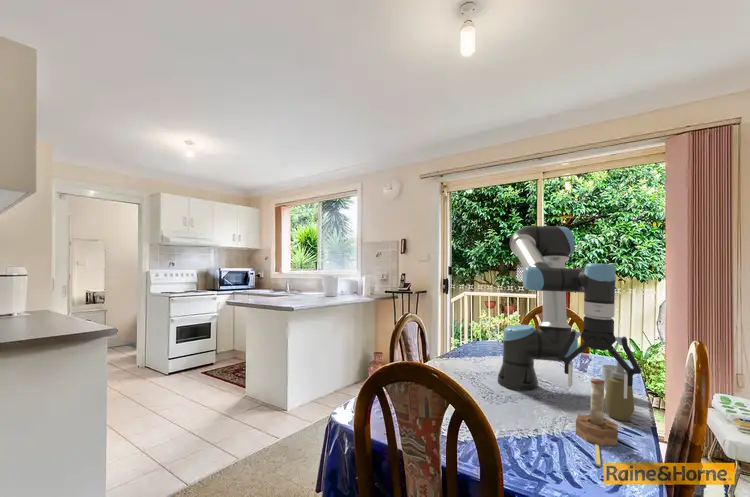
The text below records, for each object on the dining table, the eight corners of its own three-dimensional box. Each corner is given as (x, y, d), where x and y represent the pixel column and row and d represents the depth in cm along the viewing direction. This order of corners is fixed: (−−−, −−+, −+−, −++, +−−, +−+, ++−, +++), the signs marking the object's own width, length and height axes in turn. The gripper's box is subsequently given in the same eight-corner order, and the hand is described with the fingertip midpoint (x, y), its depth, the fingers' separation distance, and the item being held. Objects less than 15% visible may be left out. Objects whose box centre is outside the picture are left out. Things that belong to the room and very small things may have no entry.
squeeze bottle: (635, 425, 112) (636, 366, 112) (604, 418, 116) (605, 361, 116) (633, 416, 119) (634, 360, 119) (604, 410, 123) (605, 356, 123)
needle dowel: (589, 437, 103) (590, 380, 104) (590, 432, 106) (591, 377, 106) (603, 441, 101) (604, 383, 102) (603, 436, 104) (604, 380, 104)
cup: (631, 399, 133) (631, 372, 134) (606, 397, 135) (607, 369, 135) (620, 391, 141) (621, 365, 142) (597, 389, 143) (598, 363, 143)
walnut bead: (574, 437, 103) (574, 423, 103) (578, 425, 111) (578, 411, 111) (617, 449, 97) (617, 434, 97) (617, 435, 105) (618, 421, 105)
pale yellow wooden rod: (600, 466, 88) (600, 464, 88) (596, 465, 89) (596, 463, 89) (598, 446, 98) (598, 445, 98) (595, 445, 98) (595, 444, 98)
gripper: (548, 313, 109) (547, 384, 109) (653, 325, 94) (651, 407, 94) (553, 310, 115) (551, 377, 115) (652, 321, 101) (650, 397, 100)
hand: (596, 391), depth 104 cm, fingers open, 13 cm apart
